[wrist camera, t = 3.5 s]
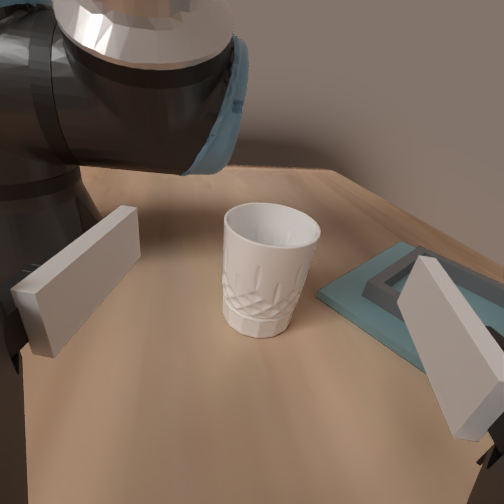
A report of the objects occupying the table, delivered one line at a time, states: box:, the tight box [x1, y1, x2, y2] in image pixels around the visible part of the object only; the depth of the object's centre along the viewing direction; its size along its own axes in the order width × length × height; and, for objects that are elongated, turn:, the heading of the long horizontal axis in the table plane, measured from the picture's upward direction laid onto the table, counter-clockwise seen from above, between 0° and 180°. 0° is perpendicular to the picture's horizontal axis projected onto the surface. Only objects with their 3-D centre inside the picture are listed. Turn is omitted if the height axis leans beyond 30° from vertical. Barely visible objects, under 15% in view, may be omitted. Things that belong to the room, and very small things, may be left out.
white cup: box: [222, 202, 321, 338], centre depth 28 cm, size 8×8×10 cm
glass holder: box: [317, 241, 504, 373], centre depth 33 cm, size 20×20×3 cm
